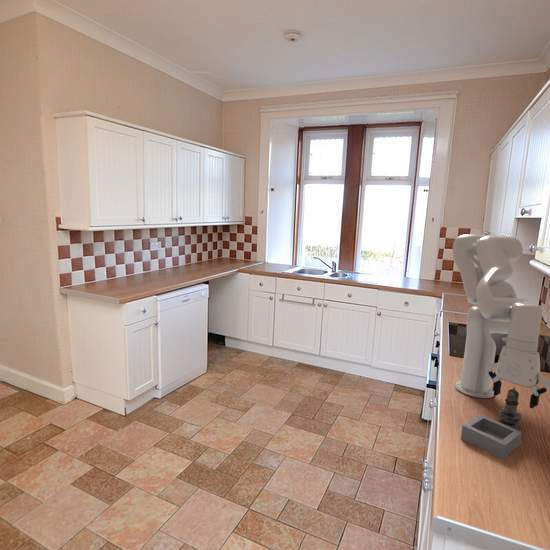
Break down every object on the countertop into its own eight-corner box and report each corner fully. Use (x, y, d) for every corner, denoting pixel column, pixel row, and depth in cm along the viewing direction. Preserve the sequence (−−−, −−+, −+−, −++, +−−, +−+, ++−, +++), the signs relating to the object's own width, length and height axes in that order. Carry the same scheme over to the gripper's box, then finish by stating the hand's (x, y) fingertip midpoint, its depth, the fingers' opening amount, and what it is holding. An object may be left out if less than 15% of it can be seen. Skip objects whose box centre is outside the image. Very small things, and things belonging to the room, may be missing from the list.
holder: (478, 426, 113) (480, 414, 112) (519, 445, 104) (522, 432, 104) (460, 438, 106) (462, 425, 106) (503, 459, 98) (505, 445, 97)
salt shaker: (511, 419, 118) (517, 383, 117) (524, 430, 113) (530, 392, 111) (492, 419, 118) (498, 382, 116) (504, 429, 112) (511, 391, 110)
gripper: (485, 338, 116) (478, 392, 118) (552, 355, 102) (543, 416, 104) (495, 335, 120) (488, 387, 122) (561, 351, 107) (552, 409, 109)
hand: (514, 400), depth 113 cm, fingers open, 9 cm apart
